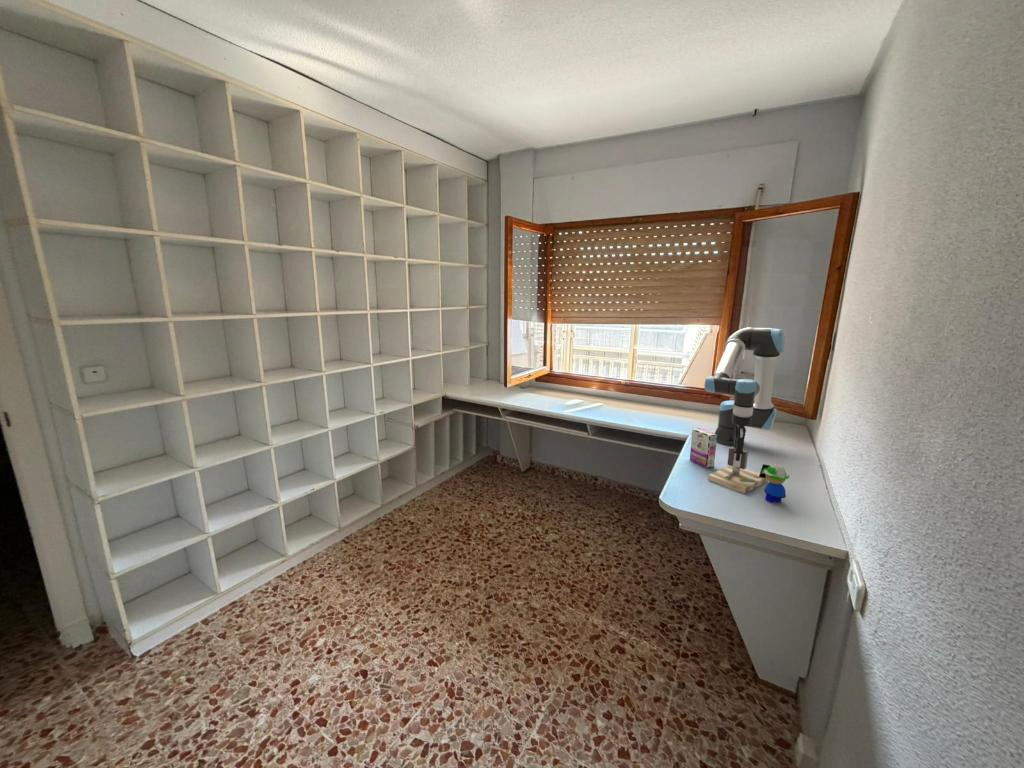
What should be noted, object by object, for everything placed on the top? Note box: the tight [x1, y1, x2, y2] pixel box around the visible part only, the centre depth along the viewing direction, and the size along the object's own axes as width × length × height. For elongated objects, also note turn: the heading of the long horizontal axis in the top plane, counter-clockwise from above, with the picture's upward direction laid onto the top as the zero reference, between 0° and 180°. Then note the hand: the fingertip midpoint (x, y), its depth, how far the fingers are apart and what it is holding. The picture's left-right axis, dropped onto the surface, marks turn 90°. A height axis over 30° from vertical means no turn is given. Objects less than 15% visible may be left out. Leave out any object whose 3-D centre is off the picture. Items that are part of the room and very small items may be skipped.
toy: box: [759, 463, 790, 504], centre depth 164 cm, size 9×9×15 cm
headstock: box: [707, 465, 769, 494], centre depth 182 cm, size 20×16×3 cm
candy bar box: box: [689, 427, 717, 469], centre depth 199 cm, size 11×5×16 cm, turn 21°
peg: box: [726, 446, 749, 478], centre depth 181 cm, size 11×7×11 cm, turn 132°
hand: (735, 464), depth 184 cm, fingers closed on peg, 4 cm apart
